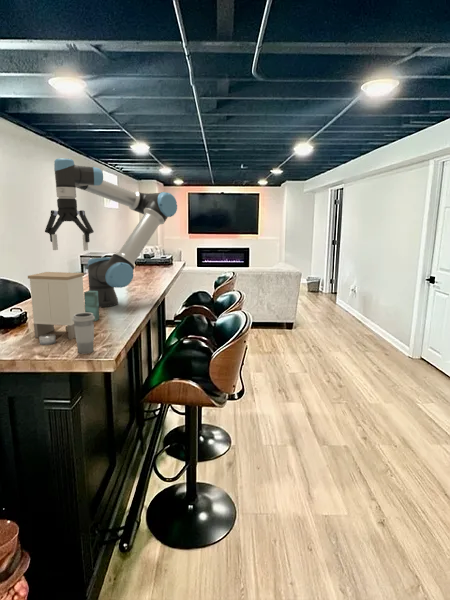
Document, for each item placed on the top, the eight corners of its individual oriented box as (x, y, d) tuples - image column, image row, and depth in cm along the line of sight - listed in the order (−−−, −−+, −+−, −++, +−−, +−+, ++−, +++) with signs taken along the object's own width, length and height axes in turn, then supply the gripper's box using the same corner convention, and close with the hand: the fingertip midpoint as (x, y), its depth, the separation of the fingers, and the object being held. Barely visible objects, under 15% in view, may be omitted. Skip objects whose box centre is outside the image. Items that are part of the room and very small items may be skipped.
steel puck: (45, 340, 134) (45, 333, 134) (58, 341, 134) (58, 334, 133) (36, 344, 130) (36, 337, 129) (50, 345, 129) (49, 338, 128)
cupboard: (51, 329, 148) (46, 271, 143) (87, 331, 146) (83, 273, 141) (33, 337, 137) (27, 275, 133) (72, 339, 135) (67, 277, 131)
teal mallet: (90, 318, 165) (88, 290, 163) (99, 318, 164) (97, 291, 162) (64, 331, 146) (62, 299, 143) (74, 331, 145) (72, 300, 143)
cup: (93, 354, 120) (91, 317, 118) (71, 355, 120) (68, 317, 117) (99, 347, 127) (97, 311, 125) (78, 347, 127) (75, 312, 124)
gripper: (32, 197, 158) (37, 250, 162) (91, 197, 155) (94, 251, 159) (43, 198, 165) (47, 249, 169) (99, 198, 162) (102, 249, 167)
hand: (70, 250), depth 164 cm, fingers open, 13 cm apart
